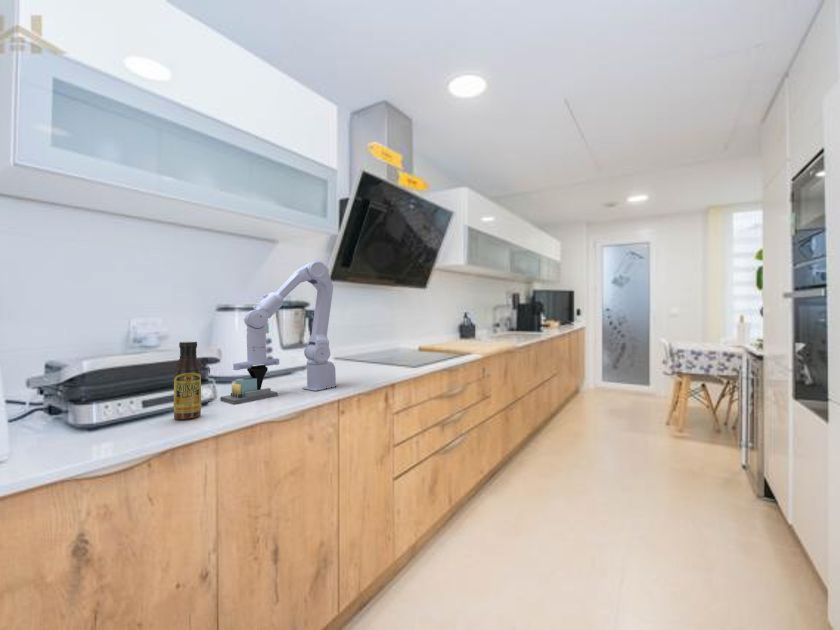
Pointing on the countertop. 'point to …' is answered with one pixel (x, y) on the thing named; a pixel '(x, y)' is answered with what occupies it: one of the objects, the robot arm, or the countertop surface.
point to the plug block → (247, 384)
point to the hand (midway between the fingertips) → (258, 389)
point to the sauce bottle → (187, 383)
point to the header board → (247, 395)
